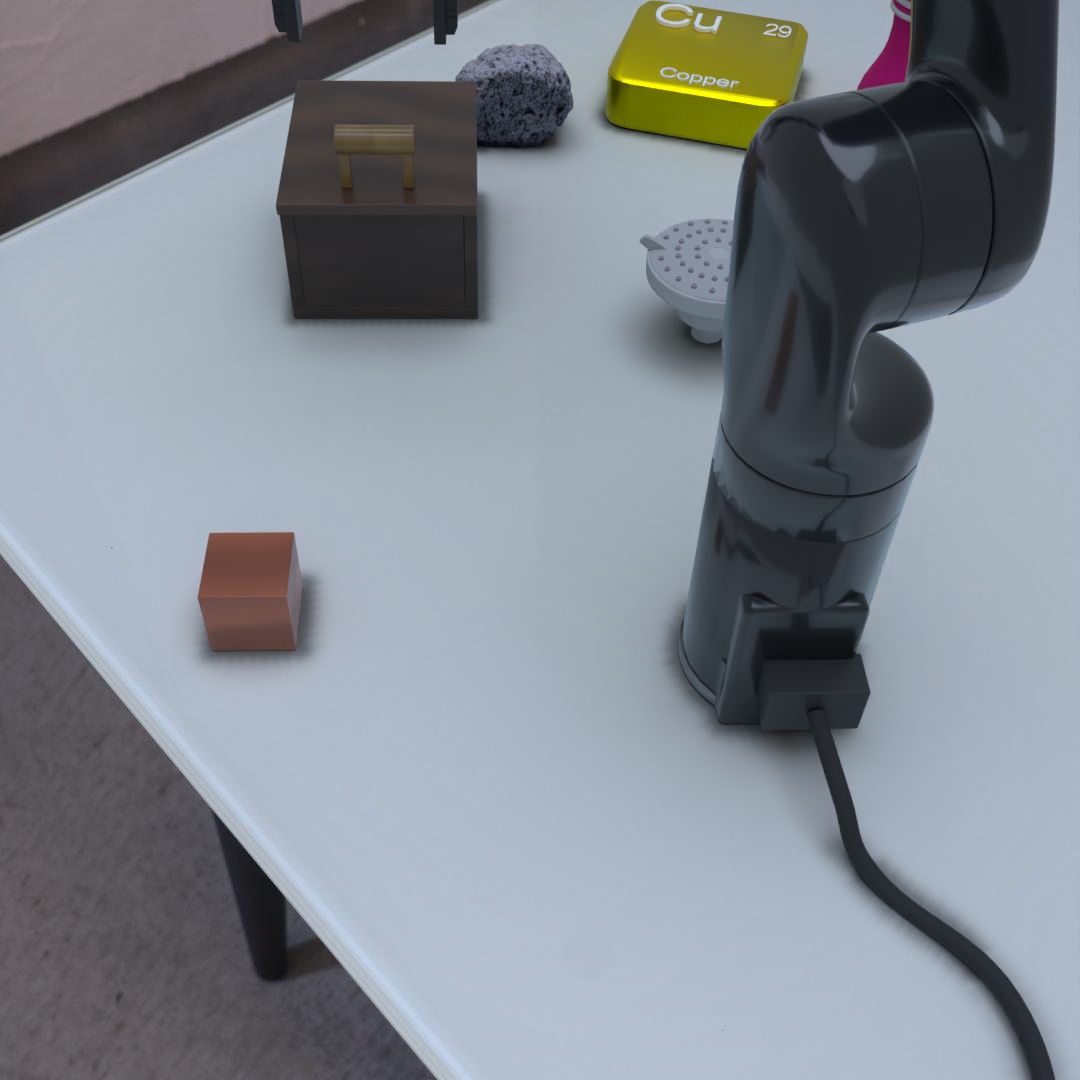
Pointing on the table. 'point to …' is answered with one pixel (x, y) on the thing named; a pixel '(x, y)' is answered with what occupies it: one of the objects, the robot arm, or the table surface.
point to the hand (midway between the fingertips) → (368, 37)
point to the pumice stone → (518, 94)
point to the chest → (382, 265)
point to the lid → (381, 149)
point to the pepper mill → (892, 50)
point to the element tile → (703, 72)
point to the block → (251, 591)
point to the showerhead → (692, 272)
